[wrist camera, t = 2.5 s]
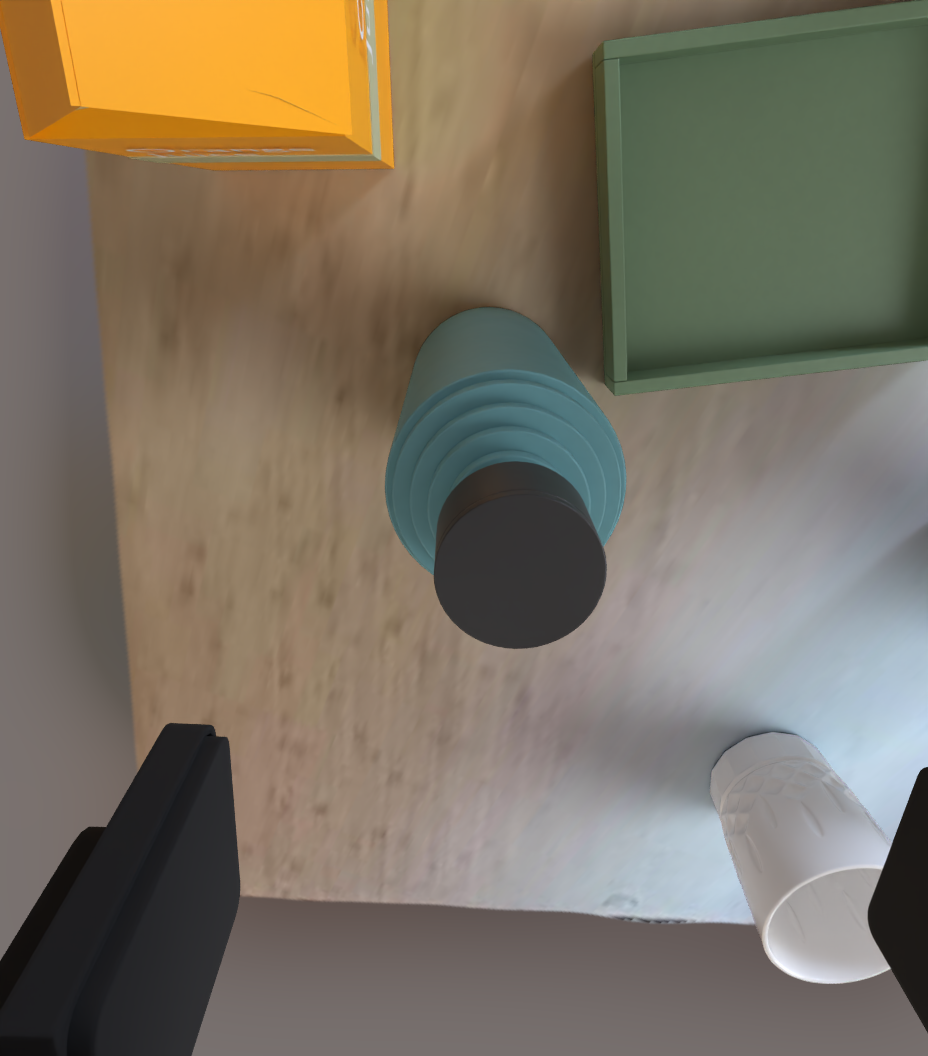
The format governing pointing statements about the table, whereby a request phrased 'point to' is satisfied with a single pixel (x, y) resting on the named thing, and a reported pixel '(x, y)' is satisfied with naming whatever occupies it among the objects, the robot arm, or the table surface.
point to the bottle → (495, 423)
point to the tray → (763, 198)
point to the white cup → (802, 856)
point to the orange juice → (206, 80)
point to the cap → (517, 556)
